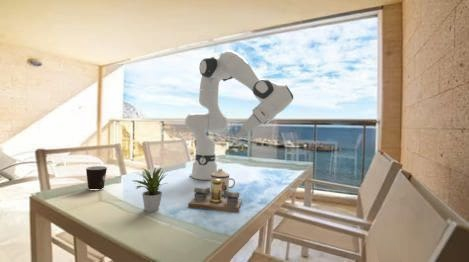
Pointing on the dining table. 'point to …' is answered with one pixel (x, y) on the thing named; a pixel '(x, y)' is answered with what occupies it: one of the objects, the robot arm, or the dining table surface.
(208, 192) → the shaft rig
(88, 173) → the coffee mug
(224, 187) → the teacup with lid
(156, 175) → the house plant
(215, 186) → the brass door knob
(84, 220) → the dining table surface
